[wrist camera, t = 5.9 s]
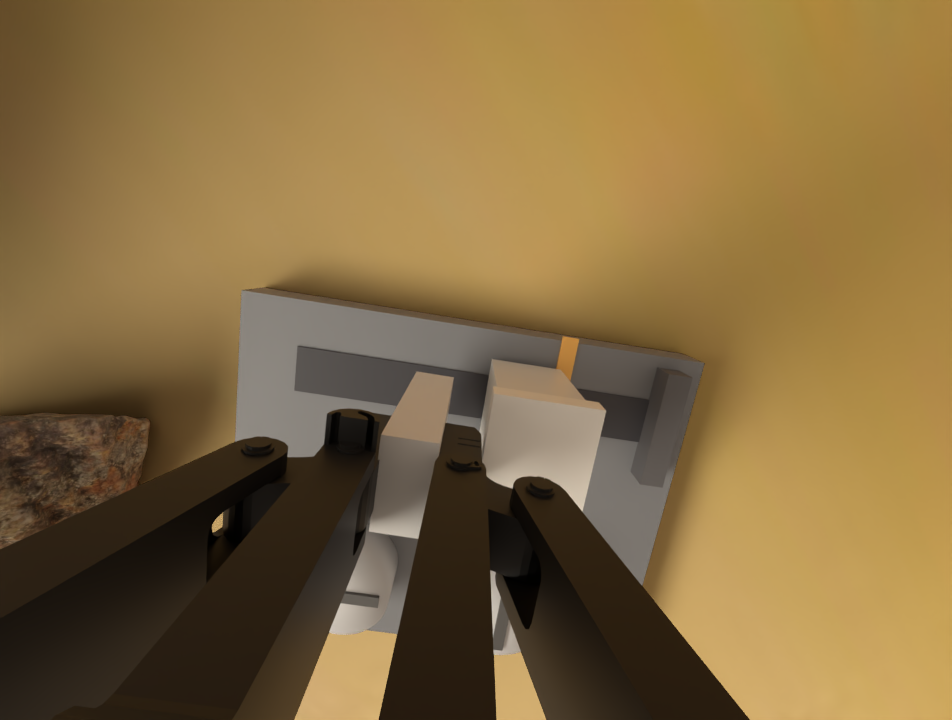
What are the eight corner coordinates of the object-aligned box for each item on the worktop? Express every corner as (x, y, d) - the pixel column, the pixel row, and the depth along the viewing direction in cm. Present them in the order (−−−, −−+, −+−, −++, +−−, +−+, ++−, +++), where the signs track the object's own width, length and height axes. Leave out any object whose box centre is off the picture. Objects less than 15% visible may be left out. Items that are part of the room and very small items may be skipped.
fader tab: (473, 440, 19) (472, 513, 14) (488, 353, 19) (493, 393, 13) (548, 451, 20) (578, 528, 14) (566, 365, 19) (606, 410, 13)
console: (248, 583, 24) (196, 657, 19) (264, 283, 20) (205, 289, 16) (609, 630, 24) (639, 712, 20) (684, 349, 21) (740, 373, 16)
